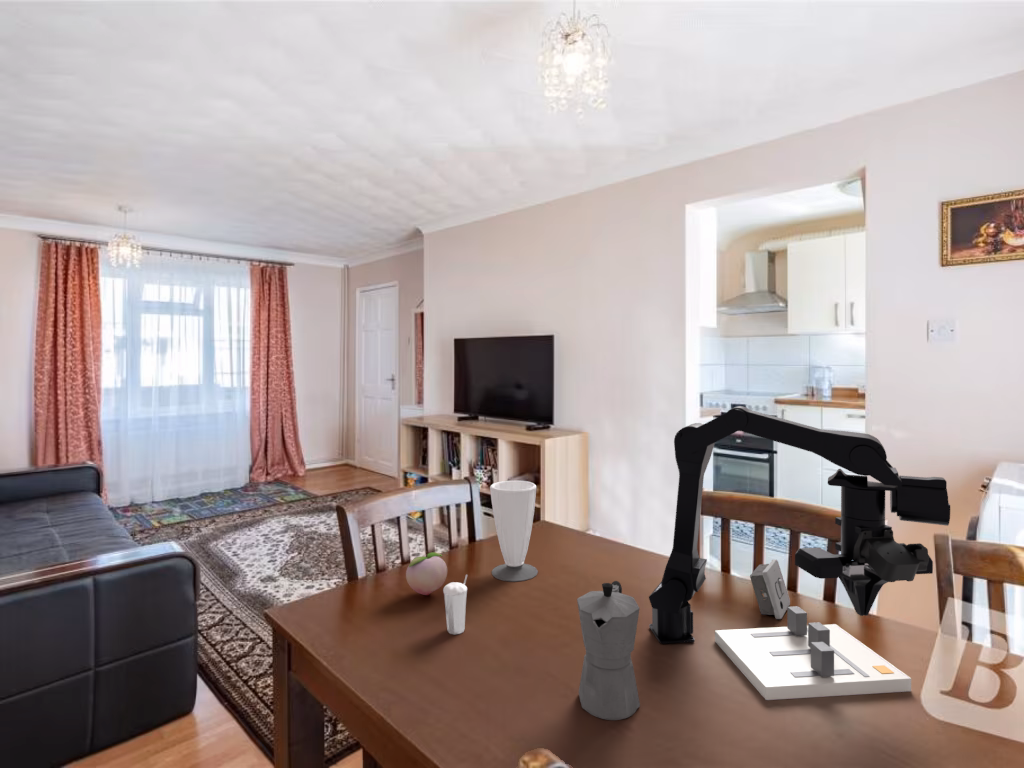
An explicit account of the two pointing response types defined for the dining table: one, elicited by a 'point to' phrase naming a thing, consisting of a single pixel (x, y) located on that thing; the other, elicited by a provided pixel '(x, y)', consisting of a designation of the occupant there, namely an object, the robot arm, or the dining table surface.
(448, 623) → the milkshake
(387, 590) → the dining table surface
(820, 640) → the handle
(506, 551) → the cup
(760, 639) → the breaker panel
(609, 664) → the coffeepot
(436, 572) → the decorative fruit
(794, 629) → the far breaker handle
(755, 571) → the electrical switch
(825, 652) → the block
